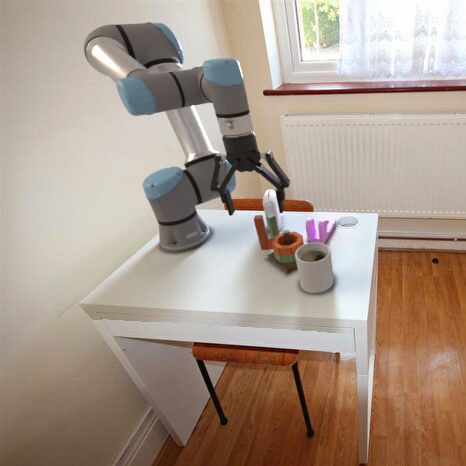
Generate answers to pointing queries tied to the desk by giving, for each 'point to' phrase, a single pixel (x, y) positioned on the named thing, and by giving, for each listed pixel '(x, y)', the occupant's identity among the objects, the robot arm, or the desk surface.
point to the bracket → (319, 229)
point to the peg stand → (284, 266)
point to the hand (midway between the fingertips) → (257, 212)
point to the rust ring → (276, 239)
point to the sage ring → (274, 232)
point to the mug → (314, 267)
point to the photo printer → (271, 206)
